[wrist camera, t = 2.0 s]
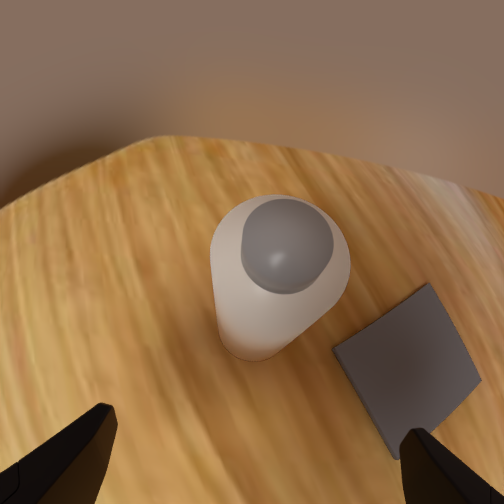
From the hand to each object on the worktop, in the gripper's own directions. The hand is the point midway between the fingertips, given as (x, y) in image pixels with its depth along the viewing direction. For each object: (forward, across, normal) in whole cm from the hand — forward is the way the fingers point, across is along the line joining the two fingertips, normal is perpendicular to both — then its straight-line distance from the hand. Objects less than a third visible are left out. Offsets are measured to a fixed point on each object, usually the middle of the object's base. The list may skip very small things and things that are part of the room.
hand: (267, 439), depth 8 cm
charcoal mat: (+11, -12, +6) cm, 18 cm away
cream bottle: (+13, 0, +4) cm, 13 cm away
